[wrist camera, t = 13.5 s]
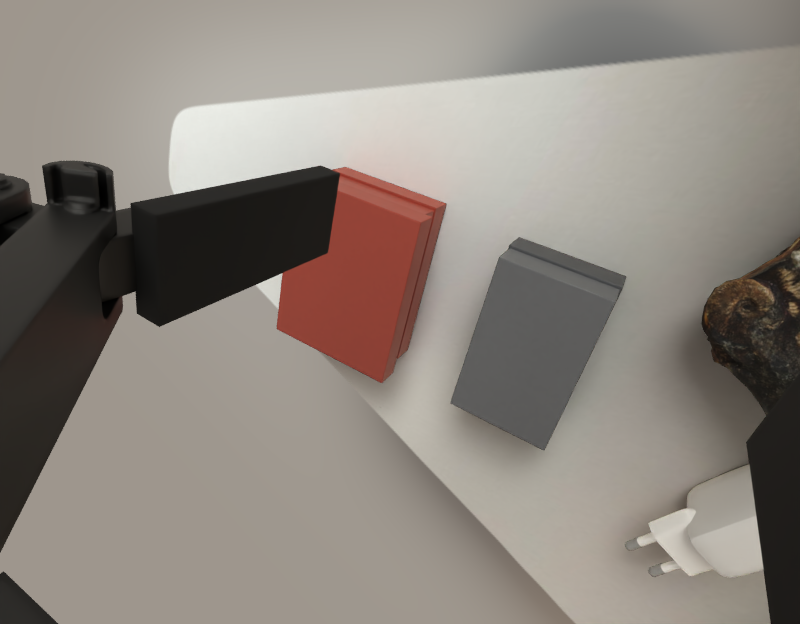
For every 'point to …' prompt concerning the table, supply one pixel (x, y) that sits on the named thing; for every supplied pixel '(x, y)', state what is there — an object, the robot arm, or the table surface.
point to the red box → (412, 202)
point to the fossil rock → (759, 326)
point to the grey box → (534, 339)
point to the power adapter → (710, 530)
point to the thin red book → (358, 283)
